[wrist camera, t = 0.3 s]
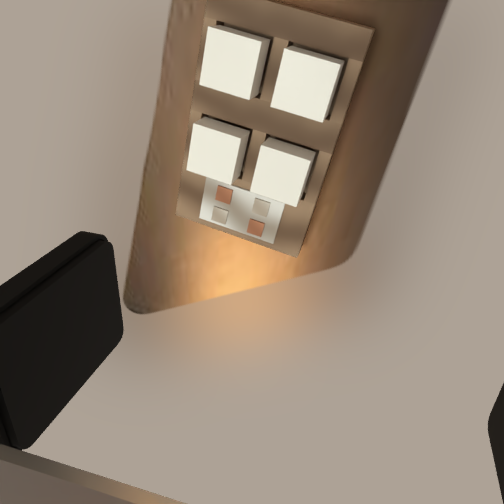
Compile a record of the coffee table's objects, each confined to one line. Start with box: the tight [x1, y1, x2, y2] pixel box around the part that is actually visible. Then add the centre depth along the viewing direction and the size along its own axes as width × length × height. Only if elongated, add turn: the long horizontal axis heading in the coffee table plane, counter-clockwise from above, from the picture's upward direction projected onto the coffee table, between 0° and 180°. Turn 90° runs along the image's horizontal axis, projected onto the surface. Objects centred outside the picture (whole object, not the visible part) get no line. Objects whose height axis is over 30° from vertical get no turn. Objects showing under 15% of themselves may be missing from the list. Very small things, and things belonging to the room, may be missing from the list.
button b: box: [270, 46, 344, 123], centre depth 37 cm, size 5×5×3 cm
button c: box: [186, 117, 250, 185], centre depth 42 cm, size 5×5×3 cm
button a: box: [199, 25, 270, 100], centre depth 38 cm, size 5×5×3 cm
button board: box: [176, 0, 375, 258], centre depth 42 cm, size 22×14×4 cm, turn 167°
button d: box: [250, 137, 316, 207], centre depth 41 cm, size 5×5×3 cm
